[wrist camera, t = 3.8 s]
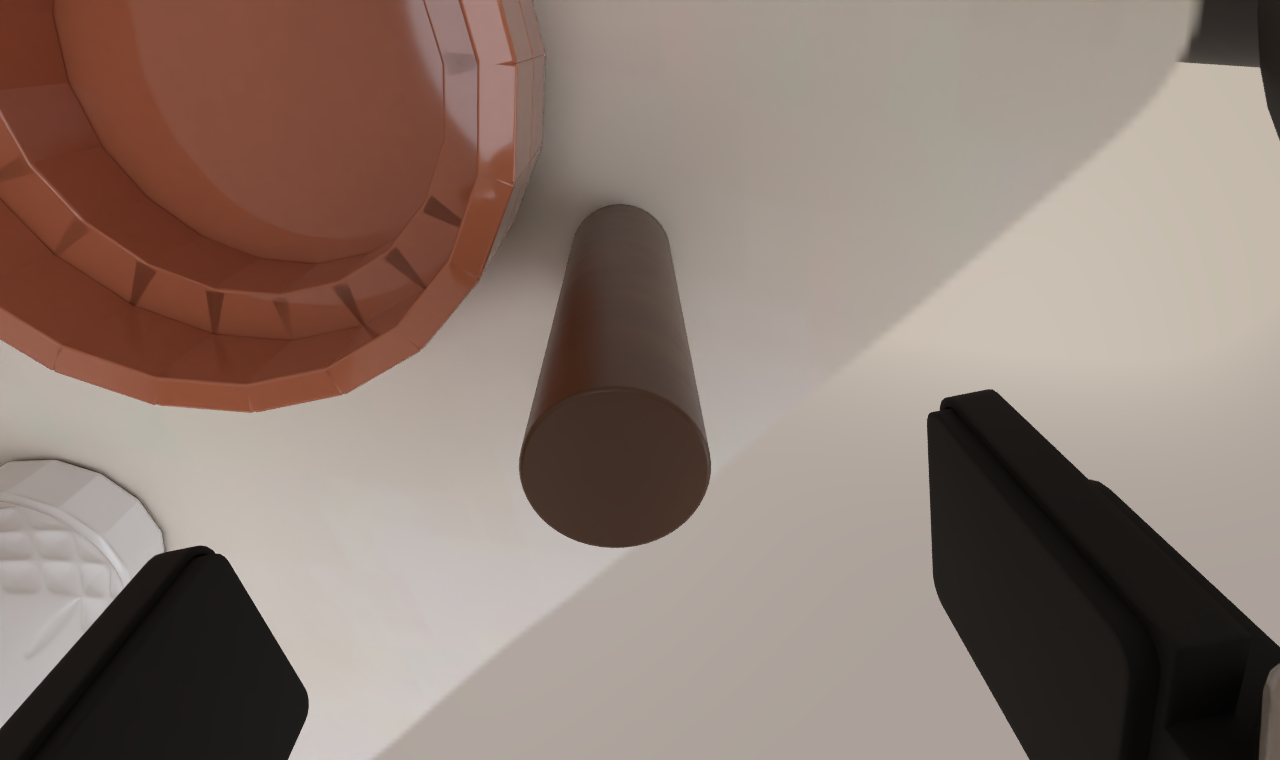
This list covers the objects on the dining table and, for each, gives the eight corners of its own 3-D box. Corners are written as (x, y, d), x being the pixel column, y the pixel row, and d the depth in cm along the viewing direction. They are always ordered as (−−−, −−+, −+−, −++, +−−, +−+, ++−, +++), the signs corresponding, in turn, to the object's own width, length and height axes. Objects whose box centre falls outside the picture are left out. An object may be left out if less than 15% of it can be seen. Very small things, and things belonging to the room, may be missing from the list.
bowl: (445, -362, 16) (350, -564, 10) (601, 267, 22) (592, 345, 17) (-148, -190, 17) (-512, -291, 11) (163, 360, 23) (23, 460, 18)
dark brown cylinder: (659, 194, 21) (693, 370, 10) (678, 288, 22) (725, 532, 12) (560, 216, 21) (494, 409, 11) (585, 308, 23) (547, 563, 12)
